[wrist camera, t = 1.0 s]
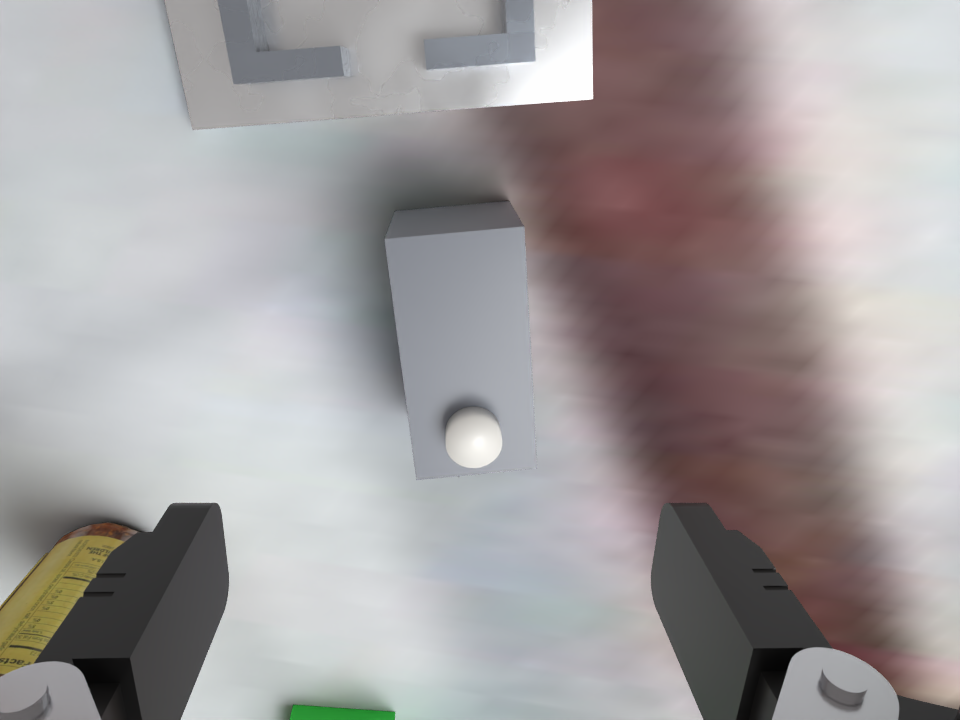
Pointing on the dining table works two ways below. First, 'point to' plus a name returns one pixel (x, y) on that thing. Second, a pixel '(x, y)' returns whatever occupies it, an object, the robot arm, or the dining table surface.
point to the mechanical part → (337, 713)
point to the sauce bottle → (53, 591)
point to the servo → (464, 337)
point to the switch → (375, 57)
